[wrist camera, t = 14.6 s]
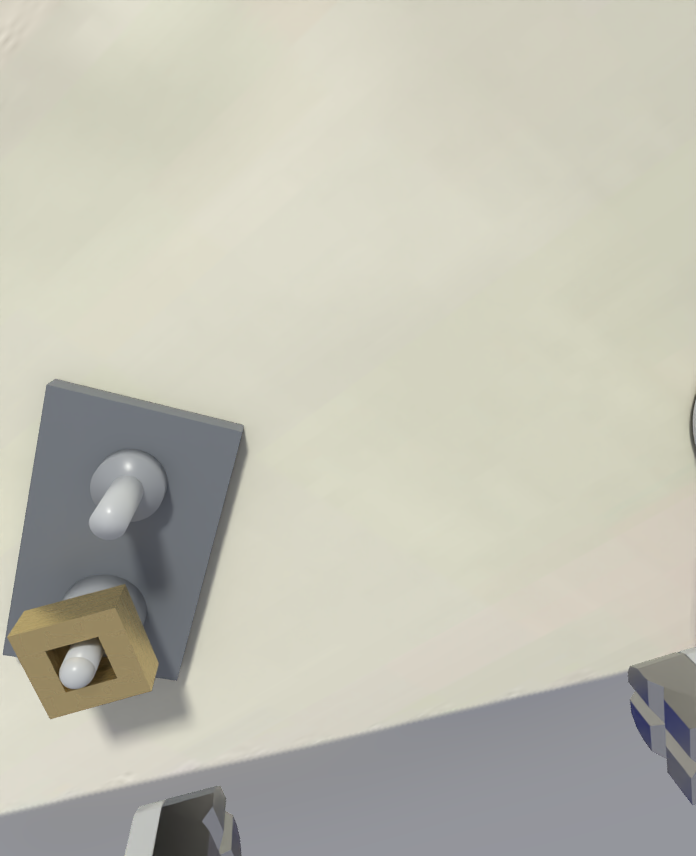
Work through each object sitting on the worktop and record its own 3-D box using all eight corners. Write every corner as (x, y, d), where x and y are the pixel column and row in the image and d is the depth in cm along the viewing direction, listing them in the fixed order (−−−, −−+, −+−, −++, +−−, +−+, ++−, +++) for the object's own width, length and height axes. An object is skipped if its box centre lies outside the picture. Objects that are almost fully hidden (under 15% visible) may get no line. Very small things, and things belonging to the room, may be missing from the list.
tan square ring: (125, 583, 36) (115, 607, 34) (158, 663, 38) (151, 690, 36) (24, 610, 36) (6, 636, 34) (63, 689, 38) (50, 719, 36)
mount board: (243, 425, 39) (236, 473, 31) (179, 666, 44) (160, 761, 36) (55, 379, 36) (-6, 418, 28) (11, 640, 42) (-50, 736, 34)
